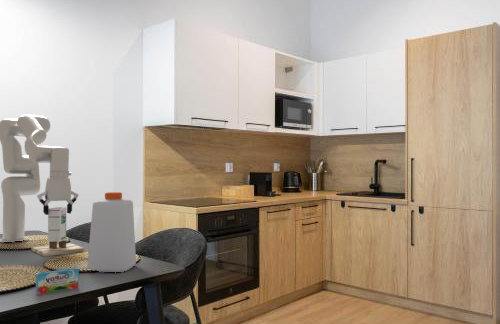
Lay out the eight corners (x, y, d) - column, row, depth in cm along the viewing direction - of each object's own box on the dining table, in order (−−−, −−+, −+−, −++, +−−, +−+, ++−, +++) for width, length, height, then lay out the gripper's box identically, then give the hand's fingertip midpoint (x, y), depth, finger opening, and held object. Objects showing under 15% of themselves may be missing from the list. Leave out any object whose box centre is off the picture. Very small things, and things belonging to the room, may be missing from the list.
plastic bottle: (139, 264, 172) (140, 191, 172) (124, 274, 156) (125, 194, 157) (101, 263, 173) (102, 191, 173) (82, 272, 158) (84, 193, 158)
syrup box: (60, 241, 193) (61, 208, 194) (47, 241, 194) (47, 208, 194) (66, 239, 199) (67, 207, 199) (53, 239, 199) (53, 206, 199)
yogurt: (37, 295, 130) (37, 274, 130) (35, 294, 131) (35, 273, 131) (78, 288, 138) (78, 268, 138) (76, 287, 139) (76, 267, 139)
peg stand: (31, 250, 197) (31, 239, 197) (70, 246, 208) (70, 236, 208) (43, 256, 184) (43, 245, 184) (84, 251, 196) (84, 241, 196)
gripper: (75, 174, 205) (74, 211, 205) (35, 174, 194) (34, 213, 194) (81, 175, 200) (80, 213, 200) (41, 175, 188) (39, 215, 188)
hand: (57, 213), depth 197 cm, fingers open, 9 cm apart
